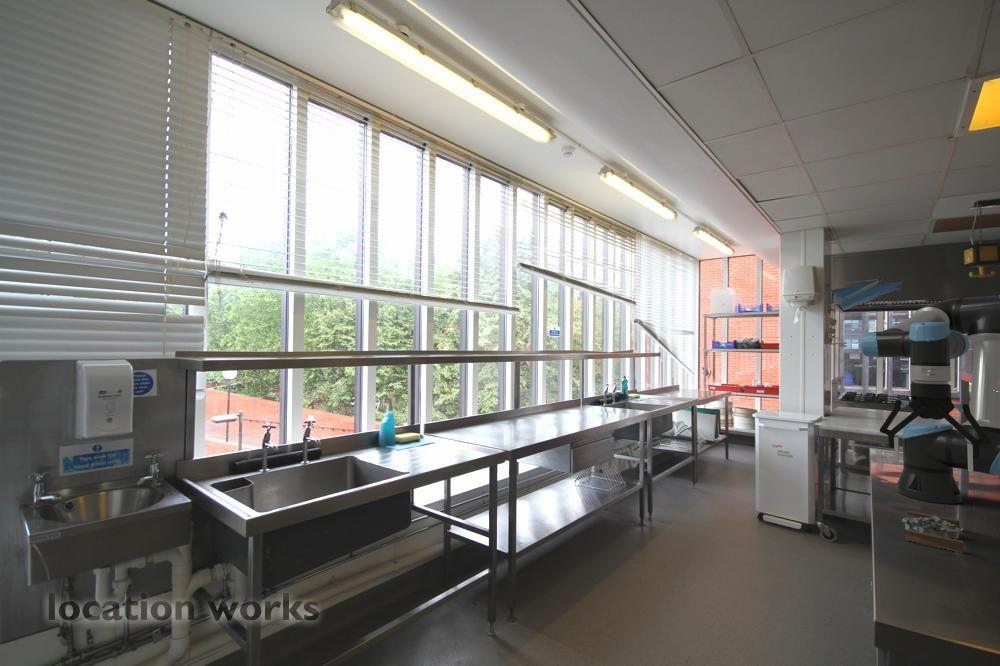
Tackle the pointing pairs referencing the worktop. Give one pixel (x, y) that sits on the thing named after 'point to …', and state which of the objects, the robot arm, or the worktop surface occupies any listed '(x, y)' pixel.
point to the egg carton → (932, 526)
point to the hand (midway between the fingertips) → (932, 466)
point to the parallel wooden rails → (933, 539)
